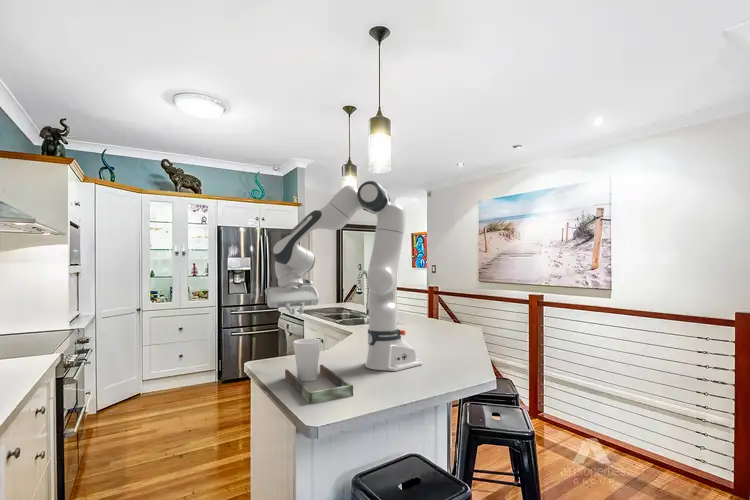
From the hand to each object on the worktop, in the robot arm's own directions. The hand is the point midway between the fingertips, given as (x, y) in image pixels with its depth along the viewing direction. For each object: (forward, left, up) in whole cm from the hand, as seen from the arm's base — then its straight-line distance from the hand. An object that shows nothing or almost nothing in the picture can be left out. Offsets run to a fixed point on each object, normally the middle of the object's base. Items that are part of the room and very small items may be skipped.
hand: (297, 313), depth 144 cm
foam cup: (0, +12, -22) cm, 25 cm away
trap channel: (0, +22, -21) cm, 31 cm away
